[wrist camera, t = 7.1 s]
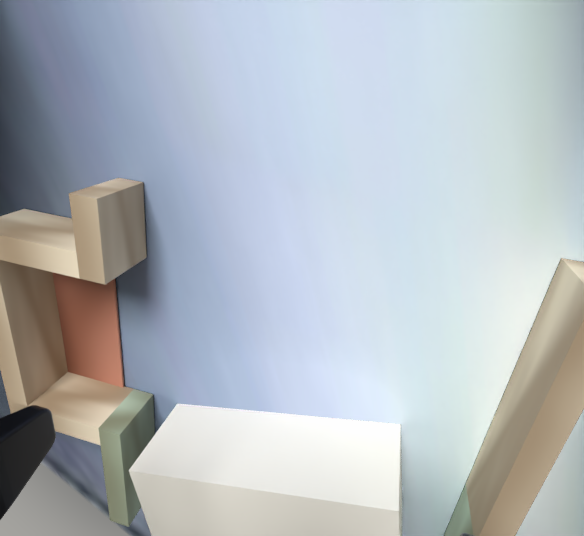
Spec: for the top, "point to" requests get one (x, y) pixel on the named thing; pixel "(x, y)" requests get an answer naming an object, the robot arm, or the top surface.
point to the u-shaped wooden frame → (139, 405)
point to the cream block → (269, 475)
